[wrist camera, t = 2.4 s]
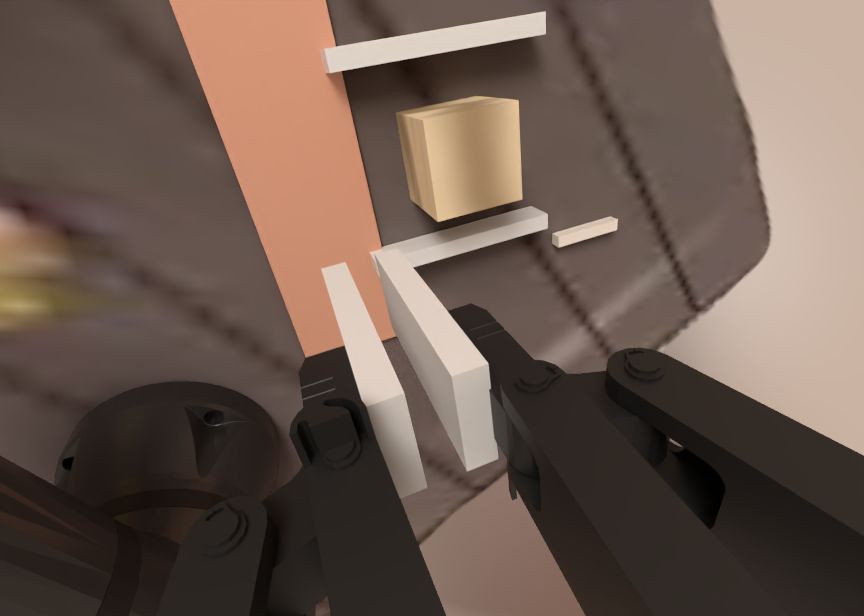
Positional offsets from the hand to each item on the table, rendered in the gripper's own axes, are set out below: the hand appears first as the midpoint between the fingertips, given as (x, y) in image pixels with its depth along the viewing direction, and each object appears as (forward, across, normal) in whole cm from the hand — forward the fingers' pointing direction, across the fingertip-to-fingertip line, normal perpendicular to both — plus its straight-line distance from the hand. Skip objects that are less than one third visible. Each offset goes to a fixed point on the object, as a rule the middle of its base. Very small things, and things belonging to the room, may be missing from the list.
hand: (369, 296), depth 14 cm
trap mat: (+18, 0, 0) cm, 18 cm away
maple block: (+19, +10, 0) cm, 21 cm away
